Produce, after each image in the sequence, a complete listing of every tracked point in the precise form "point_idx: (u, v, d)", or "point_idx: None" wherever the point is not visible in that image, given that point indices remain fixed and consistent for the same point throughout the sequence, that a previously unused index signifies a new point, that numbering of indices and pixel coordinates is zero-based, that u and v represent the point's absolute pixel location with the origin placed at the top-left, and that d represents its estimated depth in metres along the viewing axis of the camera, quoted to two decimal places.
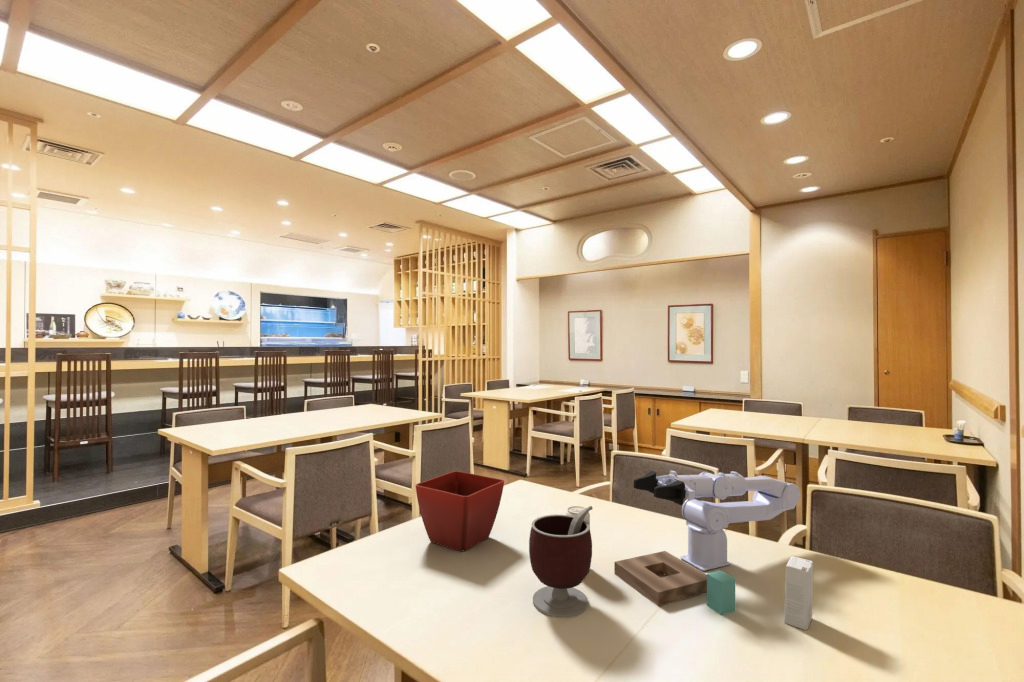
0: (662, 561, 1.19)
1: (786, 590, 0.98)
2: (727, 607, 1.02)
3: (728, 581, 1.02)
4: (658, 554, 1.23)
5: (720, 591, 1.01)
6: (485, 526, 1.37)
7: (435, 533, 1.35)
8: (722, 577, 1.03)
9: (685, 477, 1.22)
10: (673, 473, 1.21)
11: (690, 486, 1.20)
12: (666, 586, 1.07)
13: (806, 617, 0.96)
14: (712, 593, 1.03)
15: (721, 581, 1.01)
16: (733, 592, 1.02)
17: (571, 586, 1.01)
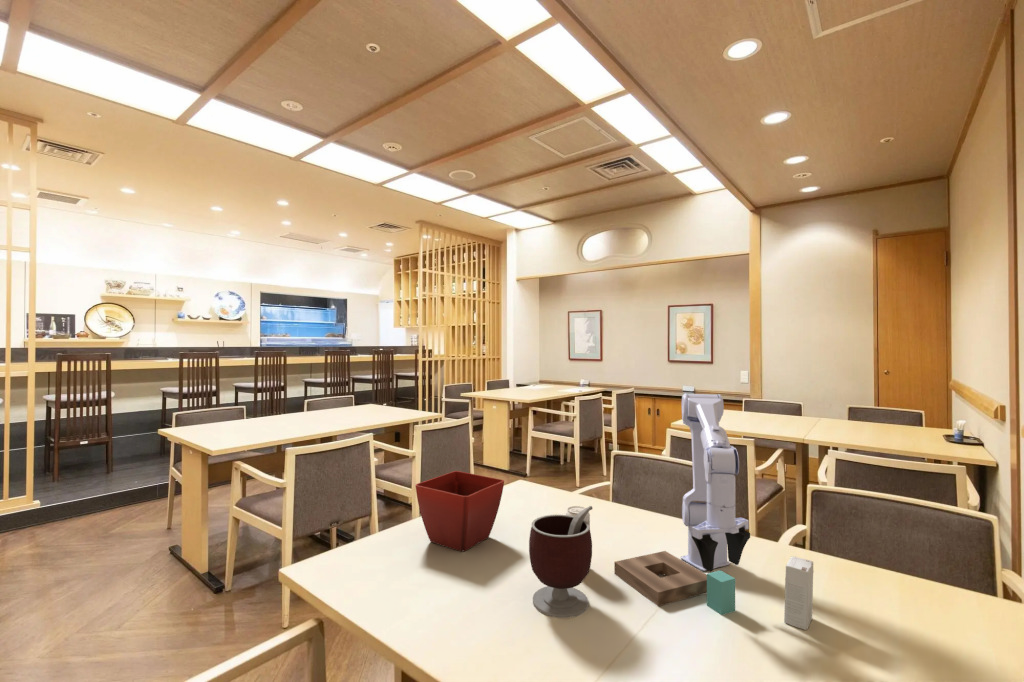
0: (662, 561, 1.19)
1: (786, 590, 0.98)
2: (727, 607, 1.02)
3: (728, 581, 1.02)
4: (658, 554, 1.23)
5: (720, 591, 1.01)
6: (485, 526, 1.37)
7: (435, 533, 1.35)
8: (722, 577, 1.03)
9: (734, 514, 1.02)
10: None
11: None
12: (666, 586, 1.07)
13: (806, 617, 0.96)
14: (712, 593, 1.03)
15: (721, 581, 1.01)
16: (733, 592, 1.03)
17: (571, 586, 1.01)
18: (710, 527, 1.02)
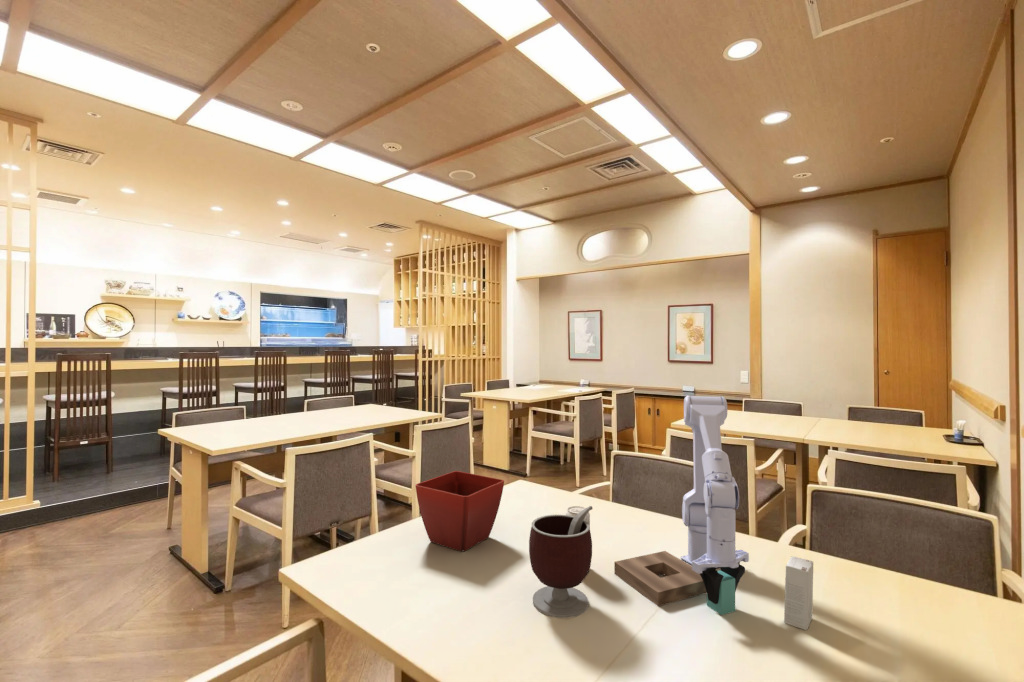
0: (662, 561, 1.19)
1: (786, 590, 0.98)
2: (727, 607, 1.02)
3: (728, 581, 1.02)
4: (658, 554, 1.23)
5: (720, 591, 1.01)
6: (485, 526, 1.37)
7: (435, 533, 1.35)
8: None
9: (734, 548, 1.02)
10: None
11: None
12: (666, 586, 1.07)
13: (806, 617, 0.96)
14: None
15: (721, 581, 1.01)
16: (733, 592, 1.02)
17: (571, 586, 1.01)
18: (710, 561, 1.02)
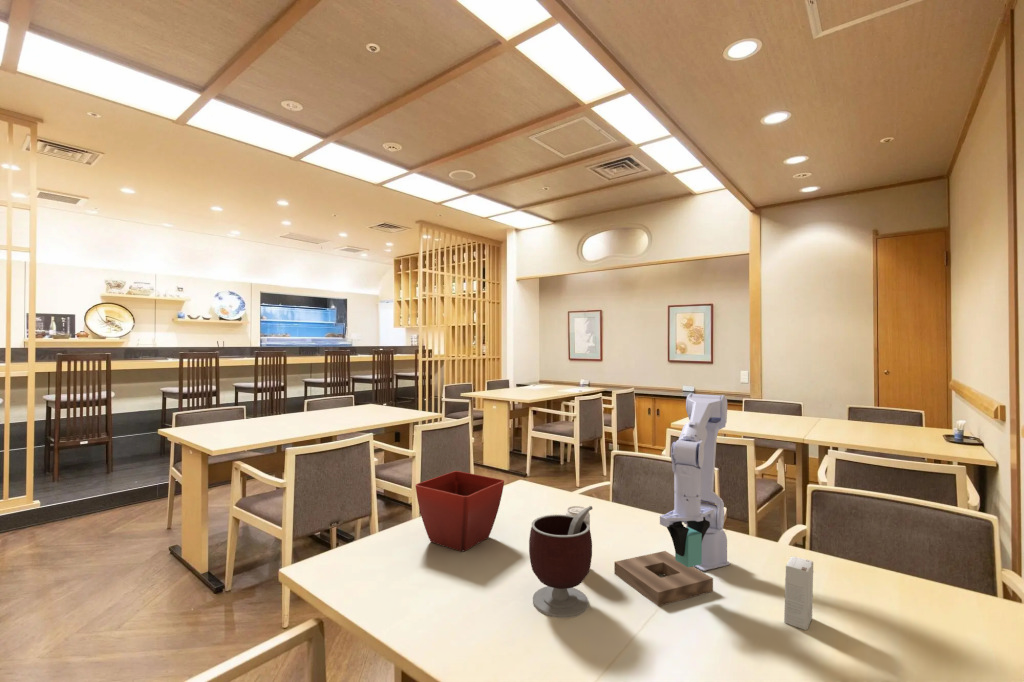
0: (662, 561, 1.19)
1: (786, 590, 0.98)
2: (694, 560, 1.08)
3: (694, 536, 1.08)
4: (658, 554, 1.23)
5: (687, 545, 1.07)
6: (485, 526, 1.37)
7: (435, 533, 1.35)
8: (689, 532, 1.09)
9: (699, 503, 1.08)
10: None
11: None
12: (666, 586, 1.07)
13: (806, 617, 0.96)
14: None
15: (688, 535, 1.07)
16: (699, 546, 1.09)
17: (571, 586, 1.01)
18: (677, 516, 1.08)
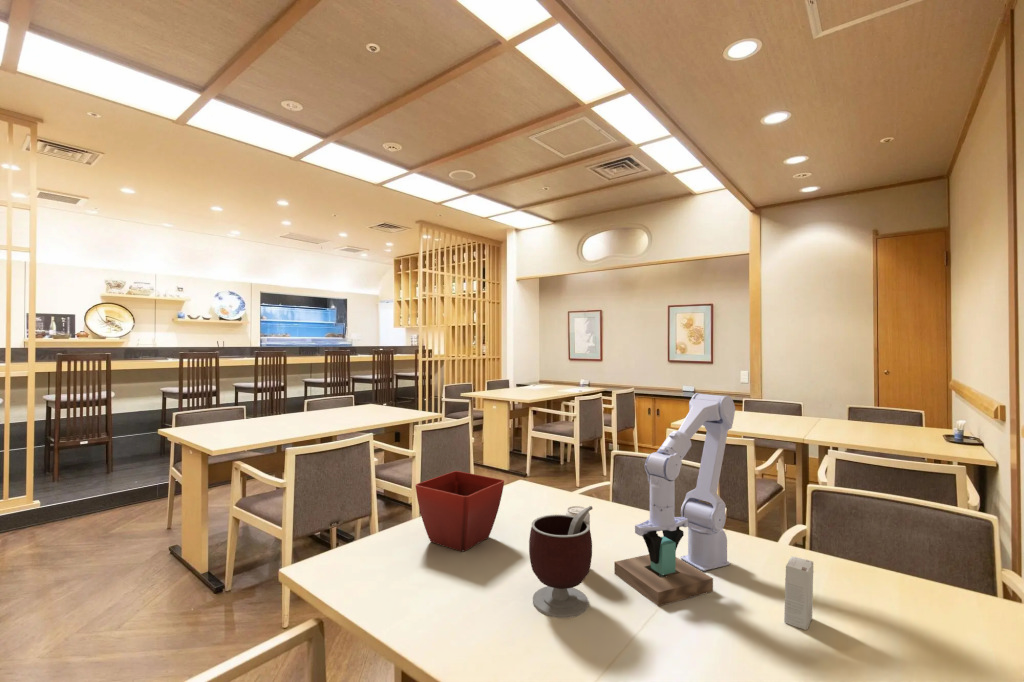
0: None
1: (786, 590, 0.98)
2: (668, 568, 1.13)
3: (668, 545, 1.13)
4: None
5: (661, 553, 1.12)
6: (485, 526, 1.37)
7: (435, 533, 1.35)
8: (664, 542, 1.14)
9: (673, 513, 1.13)
10: None
11: None
12: (666, 586, 1.07)
13: (806, 617, 0.96)
14: None
15: (662, 544, 1.12)
16: (673, 555, 1.13)
17: (571, 586, 1.01)
18: (651, 525, 1.13)
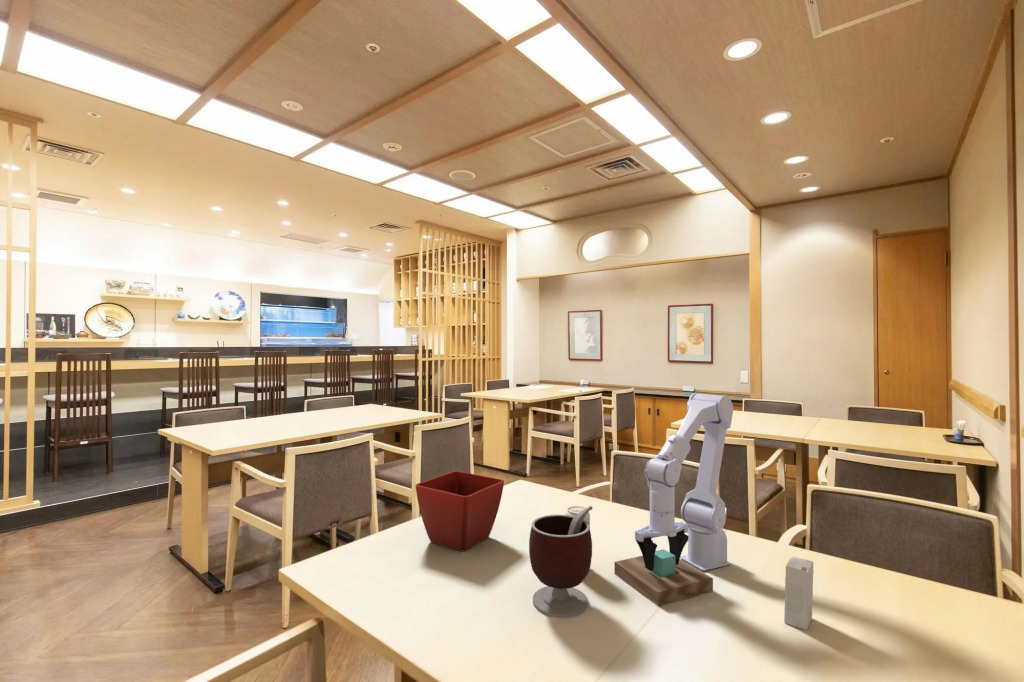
0: None
1: (786, 590, 0.98)
2: None
3: (668, 558, 1.13)
4: None
5: (661, 567, 1.12)
6: (485, 526, 1.37)
7: (435, 533, 1.35)
8: (664, 555, 1.14)
9: (673, 519, 1.13)
10: None
11: None
12: (666, 586, 1.07)
13: (806, 617, 0.96)
14: (655, 569, 1.14)
15: (662, 558, 1.12)
16: (673, 568, 1.13)
17: (571, 586, 1.01)
18: (651, 531, 1.13)
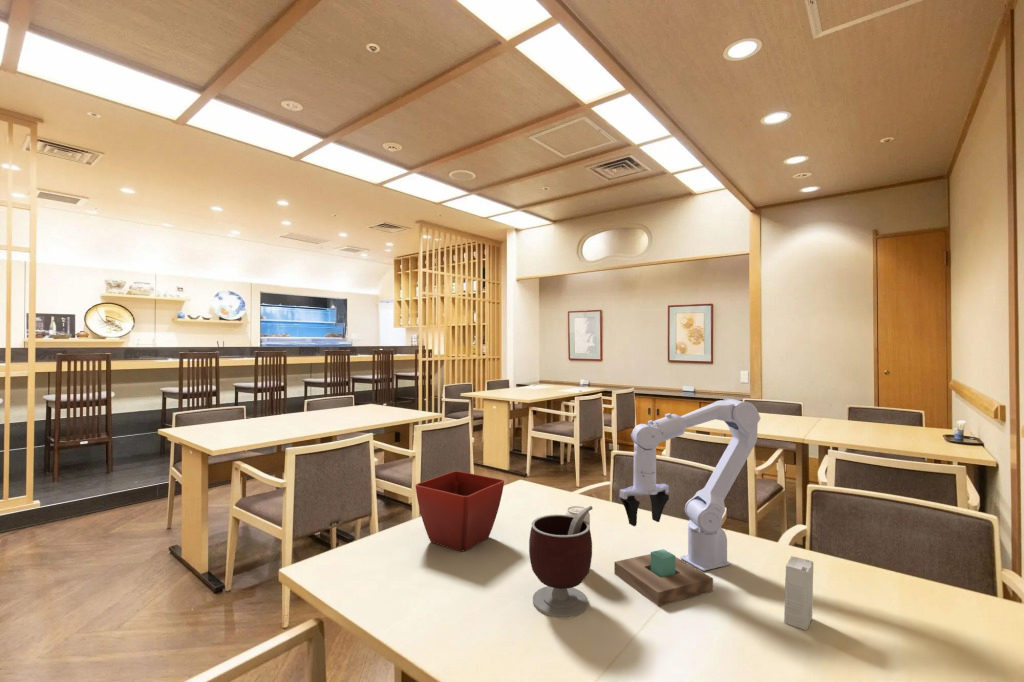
0: None
1: (786, 590, 0.98)
2: None
3: (668, 558, 1.13)
4: None
5: (661, 567, 1.12)
6: (485, 526, 1.37)
7: (435, 533, 1.35)
8: (664, 555, 1.14)
9: (654, 479, 1.23)
10: None
11: None
12: (666, 586, 1.07)
13: (806, 617, 0.96)
14: (655, 569, 1.14)
15: (662, 558, 1.12)
16: (673, 568, 1.13)
17: (571, 586, 1.01)
18: (635, 490, 1.24)
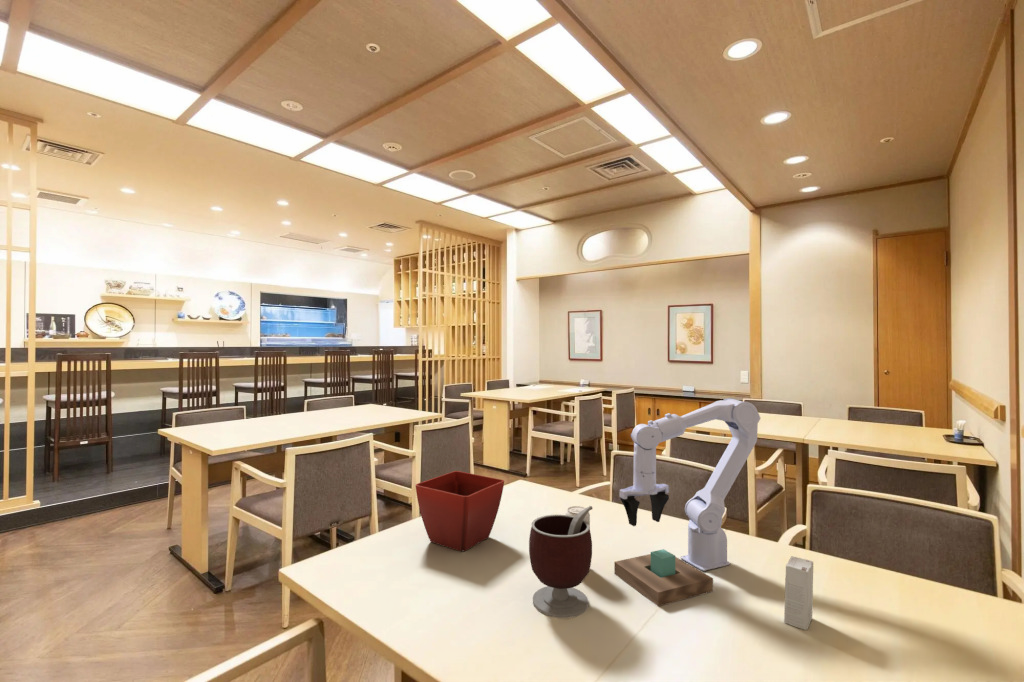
0: None
1: (786, 590, 0.98)
2: None
3: (668, 558, 1.13)
4: None
5: (661, 567, 1.12)
6: (485, 526, 1.37)
7: (435, 533, 1.35)
8: (664, 555, 1.14)
9: (654, 479, 1.23)
10: None
11: None
12: (666, 586, 1.07)
13: (806, 617, 0.96)
14: (655, 569, 1.14)
15: (662, 558, 1.12)
16: (673, 568, 1.13)
17: (571, 586, 1.01)
18: (635, 490, 1.24)
